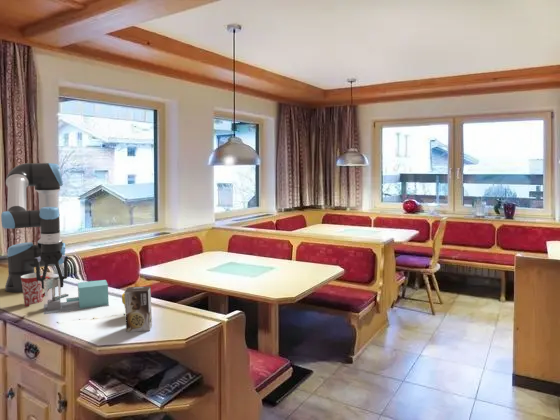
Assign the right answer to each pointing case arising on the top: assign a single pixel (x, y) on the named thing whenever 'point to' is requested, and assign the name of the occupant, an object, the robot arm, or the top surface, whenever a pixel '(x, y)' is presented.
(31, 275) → the mug
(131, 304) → the cookie box
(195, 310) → the top surface
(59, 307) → the housing
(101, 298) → the cover
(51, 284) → the grey flat angled piece
